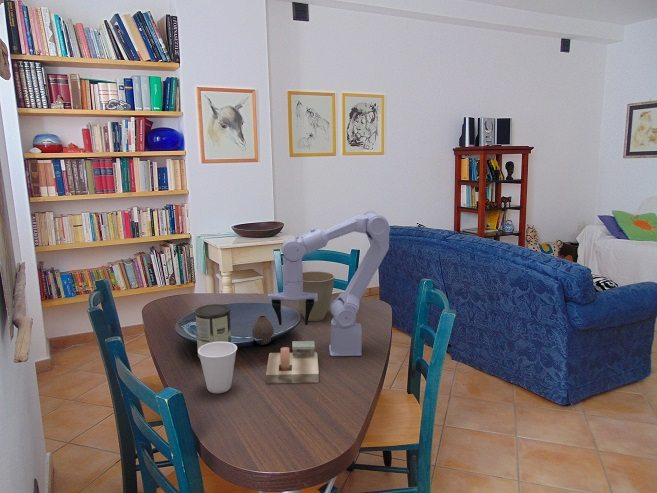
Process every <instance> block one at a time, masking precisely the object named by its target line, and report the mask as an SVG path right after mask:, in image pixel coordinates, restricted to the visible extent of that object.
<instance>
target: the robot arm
mask: <svg viewBox="0 0 657 493" xmlns="http://www.w3.org/2000/svg"><path fill="white" fill-rule="evenodd" d="M309 230H310V231H309V232H306V233H303V234H301V235H298V234H297V235H295V236H294V237H295V238H287V239H286V240H284V242H283V243H282V246H281V248H280V250H281V253H282V254H283V258H282V263H283V264H282V285H283V287H282V288H283V289H282V291H283V292H275V293H268V294H267V302H268V303H271V307H272V308H273V310H274V312H275V315H276V317H277V320H278V326H282V322H283V321H282V302H292V301H293V302H298V301H306V313H305V318H304V326H305V325H306V326H308V324H309V323H308V322H309V321H308V318H309V315H310V312H311V310H312V308H313V306H314V301H318V294H317V293H307V292H303V275H302V272H303V259H302V258H303V257H304V255H309V254H312V253H313V252H315V251H318V250H320V249H323V248H326V247H327V245H328V243H329V241H331V240H335V239H337V238H340V237H343V236H346V235H348V234H351V233H360V234H364V235H366V236H367V240H368V242H369V248H368V249H367V251H366V252H365V255H364V256H363V258H362V260H361V262H360V264H359V265H358V267H357V269H356V271H355V272H354V274H353V276H352V278H351V280H350V281H349V283H348V285H347V287H346V288H345V290H343V291H342V292H340V293H339V296H338V297H337V298H336V299H334V300H333V301H332V302H331V303H330V305H329V312H330V314H331V315H332V316H333V317H332V319H331V321H330V344H328V349H329V350H328V351H329V356H330V357H356V356H357V357H359V356H360V357H361V356H362V345H363V343H362V342H363V341H362V339H363V336H362V335H363V333H362V331H363V330H362V324H361V323H357V322H356V320H357V314H358V311H359V309H360V303H361V302H360V301H361V298H362V297H363V294H365V291H366V290H367V288H368V287H369V284H370V283H371V281H372V279H373V278H374V275H375V274H376V272H377V270H378V269H379V267H380V265H381V264H382V262H383V260H384V258H385V256H386V255H387V253H388V251H389V249H390V232H391V226H390V224H389V221H388V219H387V218H386V217H385V216H383V215H381V214H378V213H377V212H375V211H373V210H369V211H366V212H364V213H359V214H357V215H355V216H353V217H350V218H348V219H346V220H344V221H341V222H339V223H338V224H335V225H333V226H331V227H328V228H326V229H322V228H315V227H313V228H310V229H309Z"/></svg>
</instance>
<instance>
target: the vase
mask: <svg viewBox="0 0 657 493" xmlns="http://www.w3.org/2000/svg"><path fill="white" fill-rule="evenodd" d="M274 332H275V331H274V326H273V324H272V323H271V321H270V320H269V319H268V318H267V316H266V315H263V314H262V315H259V316H258V318H257V319H256V321H255V322H254V323H253V326H252V328H251V336H252V339H253V338H256V339H263V340H264V341H263V342H261V344H260V346H261V345H262V346H264V345H265V346H266V345H268V344H269V343H270V342H272V340H271V338H270V337H271V336H272V335H273V336H274V335H275V334H274Z"/></svg>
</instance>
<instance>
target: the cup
mask: <svg viewBox="0 0 657 493" xmlns="http://www.w3.org/2000/svg"><path fill="white" fill-rule="evenodd" d="M237 350H238V346H237V344H235V343H233V342H231V343H230V342H222V341H221V342H212V343H208V344H205V345H203V346H201V347H200V348H199V349H198V348H197V355H198V354H199V356H200V358H199V360H200V363H201V368H202V373H203V375H204V380H205V385H206V389H207V390H208V391H209V392H210V393H212V394H222V393H226V392H228V391H229V390H230V389H231V388H232V383H233V378H234V377H233V376H234V375H233V374H234V369H235V360H236V354H237Z"/></svg>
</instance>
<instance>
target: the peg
mask: <svg viewBox="0 0 657 493" xmlns="http://www.w3.org/2000/svg"><path fill="white" fill-rule="evenodd" d="M280 353H281V371H290V353H291V352H290V347H288V346H283V347H281V348H280Z"/></svg>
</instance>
